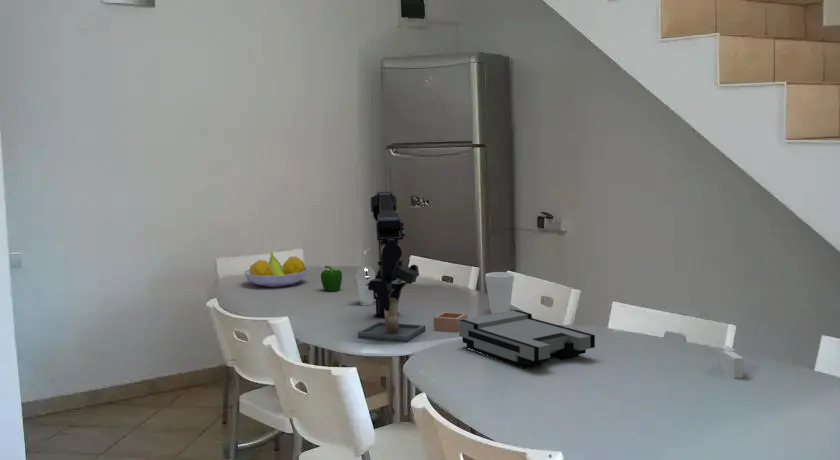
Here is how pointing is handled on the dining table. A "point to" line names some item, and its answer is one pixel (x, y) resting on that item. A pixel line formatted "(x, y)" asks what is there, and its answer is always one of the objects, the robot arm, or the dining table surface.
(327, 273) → the bell pepper
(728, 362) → the napkin holder
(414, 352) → the dining table surface
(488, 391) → the dining table surface
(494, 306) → the foam cup
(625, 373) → the dining table surface
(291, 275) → the fruit bowl
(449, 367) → the dining table surface
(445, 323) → the terracotta square frame
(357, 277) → the cup with straw
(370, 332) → the charcoal tray
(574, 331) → the game console
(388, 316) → the dowel pin
